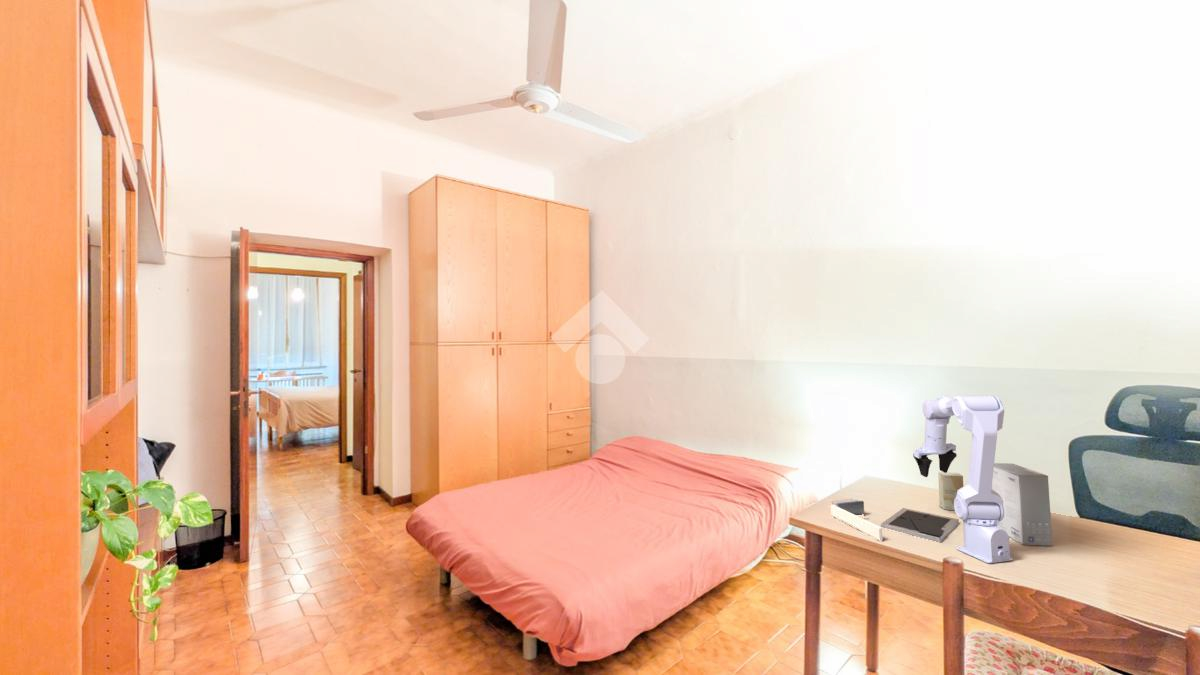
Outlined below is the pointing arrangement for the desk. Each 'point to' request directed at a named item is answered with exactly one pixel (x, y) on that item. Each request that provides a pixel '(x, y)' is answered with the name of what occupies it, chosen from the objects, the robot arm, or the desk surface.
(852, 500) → the orange and blue block
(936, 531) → the picture frame
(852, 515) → the shelf wall
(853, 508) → the bookend
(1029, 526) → the hard drive box
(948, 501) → the skincare box
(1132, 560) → the desk surface
